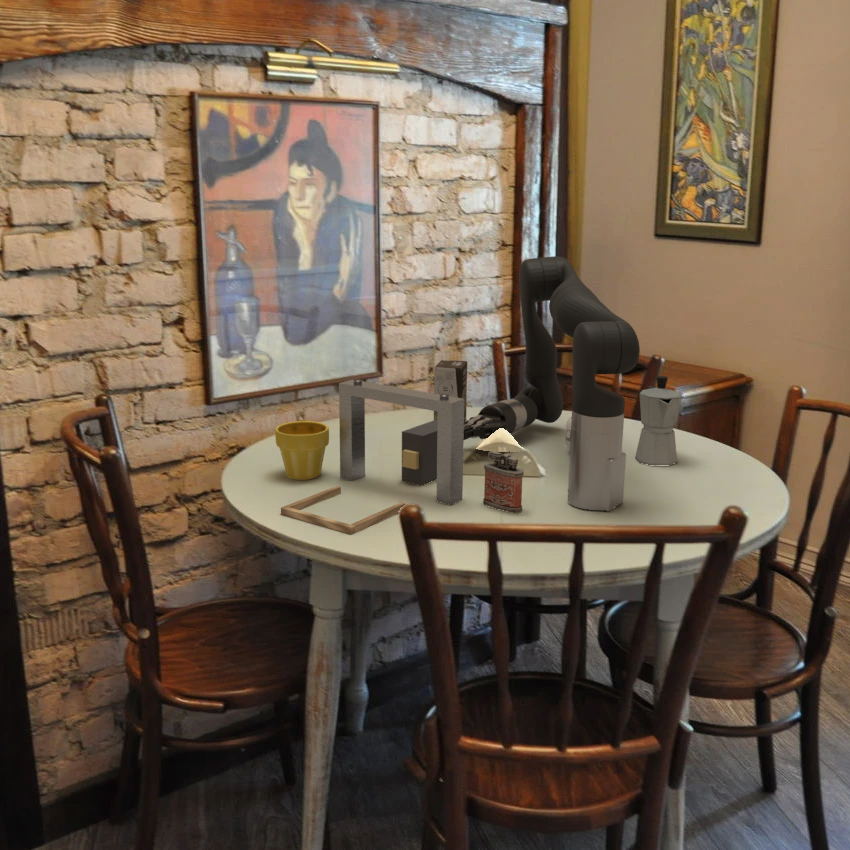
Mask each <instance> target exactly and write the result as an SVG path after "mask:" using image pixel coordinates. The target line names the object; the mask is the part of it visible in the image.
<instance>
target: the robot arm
mask: <svg viewBox="0 0 850 850" xmlns="http://www.w3.org/2000/svg"><path fill="white" fill-rule="evenodd" d="M518 272H519V273H518V283H519V284H518V287H519V295H520V297H519V299H520V308H521V315H522V325H523V332H524V333H523V334H524V341H525V362H524V363H525V371H524V372H525V373H524V375H525V376H524V377H525V381H526V382H527V383H529V384H530V385H531V386H526V387H523V388H522V389H521V390H520V391H519V393H517V394H516V396H515V397H512V398H509V399H504V400H500V401H497V402H495V403H491V404H488V405H486V406H484V407H483V408H482V409H481V410H480V411H479V412H478V414H477V415H475V416H472V417H470V418H469V419H466V420H465V418H464V441H465V440H468V439H476V438H479V439H480V440H483V439H484V440H485V439H486V438H488V437H489V436H490V435H491V434H492V433H494V432H495V431H496V430H498V429H499V428H504V429H505V430H507V431H508V432H509V433H511V434H510V435H512V434H514V433H516V432H518V431H520V430H521V429H523V428H526V427H528V426H530V425H532V424H533V423H534V422H535V421H536V420H538V421H540V422H543V423H547V424H552V423H555V422H557V421H558V420H559V418H560V417H561V416H562V414H563V410H564V399H563V395H562V390H561V387H560V382H559V380H558V376H557V365H558V350H557V346H556V343H555V340H554V338H553V337H552V335H551V334H550V332H549V331H548V330H547V327H545V325H544V323H543V322H542V320H541V319H540V316H539V315H538V311H537V302H548V301H549V304H548V309H549V314H550V317H551V318H552V320H553V321H554V323H555V324H556V325H557V327H558V328H559V329H560V330H561V331H562V332H563V334H566V335H567V336H568V337H571V338H572V349H571V350H572V379H571V380H572V381H571V382H572V383H571V384H572V385H571V386H572V387H571V392H572V394H571V395H572V396H571V397H572V406H571V407H572V408H571V417H572V422H571V441H570V452H569V460H568V461H569V463H568V466H569V467H568V486H567V503H568V504H570V505H571V506H573V507H575V508H579V509H583V510H587V509H588V510H587V511H604V510H606V511H605V512H610V511H612V510H613V508H614V507H615V508H617V507H618V506H620V505H621V504H620V503H622V502H623V503H624V489H625V476H626V459H627V454H626V452H623V435H624V421H625V420H624V419H625V409H626V401H625V397H624V396H623V395H621V394H620V393H618V392H615V391H612V390H609V389H606V388H604V387H602V386H600V385H599V384H597V381H596V375H618V374H625V373H627V372H630V371H632V370H633V369H634V368H635V367H636V365H637V364H638V361H639V359H640V352H641V349H640V342H639V339H638V335H637V333H636V331H635V329H634V328H633V326H632V325H631V324H630V323H629V322H628V321H626V320H624V319H623V318H621V317H620V316H619V315H616V314H615V313H614V312H613V311H611V309H609V308H608V307H607V306H606V305H605V304H604V303H603V302H602V301H600V299H599V298H598V297H597V296H596V294H595V293H594V292H592V290H591V289H590V288H589V287H587V286H586V285H585V283H584V282H583V281H582V280H581V279H580V277H579V276H578V274H577V273H576V271H575V269H574V268H573V265H572V264H571V262H569V260H568V259H567V258H565V257H563V256H560V255H559V256H557V255H555V256H546V257H544V256H543V257H534V258H528V259H524V260H523V261H522V262H521V264H520V267H519V271H518ZM486 440H487V439H486ZM623 503H622V504H623ZM619 504H620V505H619ZM617 505H618V506H617ZM616 506H617V507H616ZM615 508H614V509H615ZM611 509H612V510H611ZM609 510H610V511H609Z"/></svg>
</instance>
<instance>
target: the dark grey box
mask: <svg viewBox="0 0 850 850" xmlns="http://www.w3.org/2000/svg"><path fill="white" fill-rule="evenodd" d="M437 428H438V419H437V420H434V419H433V420H431V421H428V422H426V423H425V422H424V423H423V424H419V425H417V426H414V427H412V428H411V427H410V428H408V429H405V430H402V431H401V482H405V483H408V482H409V484H412V483H414V484H413V485H417V484H418V486H421V485H423V486H425V485H424V484H426V485H428V484H430V483H432V482H431V481H433V482H435V481H437V480H436V479H437ZM434 480H435V481H434ZM429 482H430V483H429ZM427 483H428V484H427Z"/></svg>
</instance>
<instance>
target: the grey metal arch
mask: <svg viewBox="0 0 850 850" xmlns="http://www.w3.org/2000/svg"><path fill="white" fill-rule="evenodd" d="M365 399H368V400H373V401H379V402H385V403H388V404H390V403H391V404H394V405H401V406H406V407H409V408H410V407H412V408H416V409H422V410H428V411H431V412H432V411H433V412H434V411H437V412H438V428H437V480H436V502H437V501H438V502H437V503H439V502H442V503H441V504H443V503H445V504H444V505H447V504H449V505H448V506H452V505H453V503H454V504H456V503H458V502H460V501H462V500H463V491H464V490H463V486H464V485H463V483H464V482H463V480H464V479H463V478H464V443H465V442H464V441H465V440H464V399H462V398H456V397H450V396H449V395H447V394H441V395H439V394H434V392H433V393H432V392H426V391H421V390H414V389H409V388H403V387H398V386H392V385H391V386H390V385H386V384H380V383H375V382H368V381H363V379H349V380H345V381H343V382H339V383H338V402H339V403H338V406H339V407H338V409H339V413H338V414H339V415H338V416H339V418H338V419H339V470H340V471H339V473H340V476H339V477H340V479H342V478H343V480H346V479H347V480H346V481H350V480H351V482H354V481H356V480H358V478H359V479H360V478H361V479H362V478H364V477H365V476H366V427H365V426H366V423H365V422H366V419H365V418H366V411H365V409H366V408H365V407H366V401H365ZM459 500H460V501H459ZM455 502H456V503H455ZM451 504H452V505H451Z"/></svg>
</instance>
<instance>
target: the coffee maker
mask: <svg viewBox="0 0 850 850" xmlns="http://www.w3.org/2000/svg"><path fill="white" fill-rule="evenodd" d="M668 378H669V377H668V376H664V375H657V376H656V386H655V385H649V386H648V388H647V389H642V390H641V391H640V392H639V406H640V421H641V424H642V425H643V426H642V428H641V430H640V435H639V439H638V442H637V443H638V444H637V448H636V452H635V456H634V459H635V460H636V462H637V461H638V462H639V463H638V462H637V463H638V464H641V463H643V464H642V465H645V464H648V465H647V466H649V465H671V464H673V463H676V462H677V463H678V457H677V456H678V455H677V445H676V444H677V443H676V435H675V434H676V433H675V431H674V427H675V425H676V423H677V420H678V416H679V411H680V406H681V403H682V397H683V393H682V392H678V391H676V390H672V389H670V388H666V387H667V383H668ZM677 463H676V464H677ZM671 466H672V465H671Z"/></svg>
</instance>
